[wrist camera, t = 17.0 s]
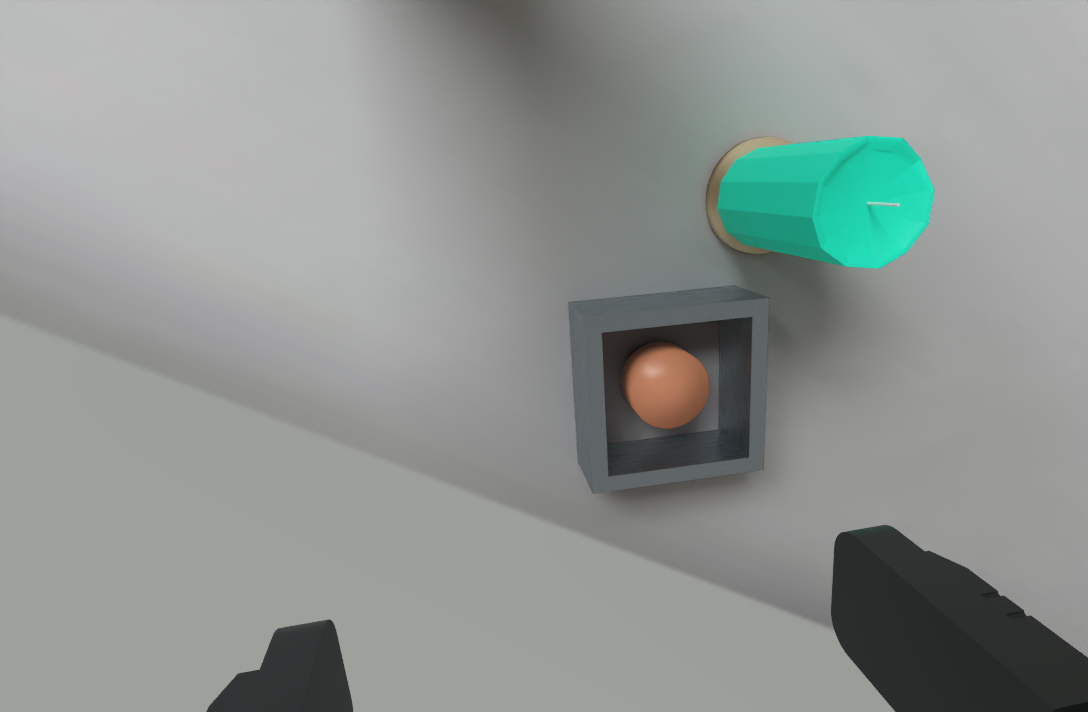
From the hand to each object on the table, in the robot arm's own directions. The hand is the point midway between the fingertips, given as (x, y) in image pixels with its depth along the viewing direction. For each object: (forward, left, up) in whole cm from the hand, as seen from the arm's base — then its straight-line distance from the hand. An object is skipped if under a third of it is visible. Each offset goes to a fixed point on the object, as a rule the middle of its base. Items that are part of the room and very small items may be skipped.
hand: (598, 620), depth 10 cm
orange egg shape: (+6, +11, -29) cm, 31 cm away
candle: (-4, +18, -29) cm, 34 cm away
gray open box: (+7, +11, -29) cm, 32 cm away
